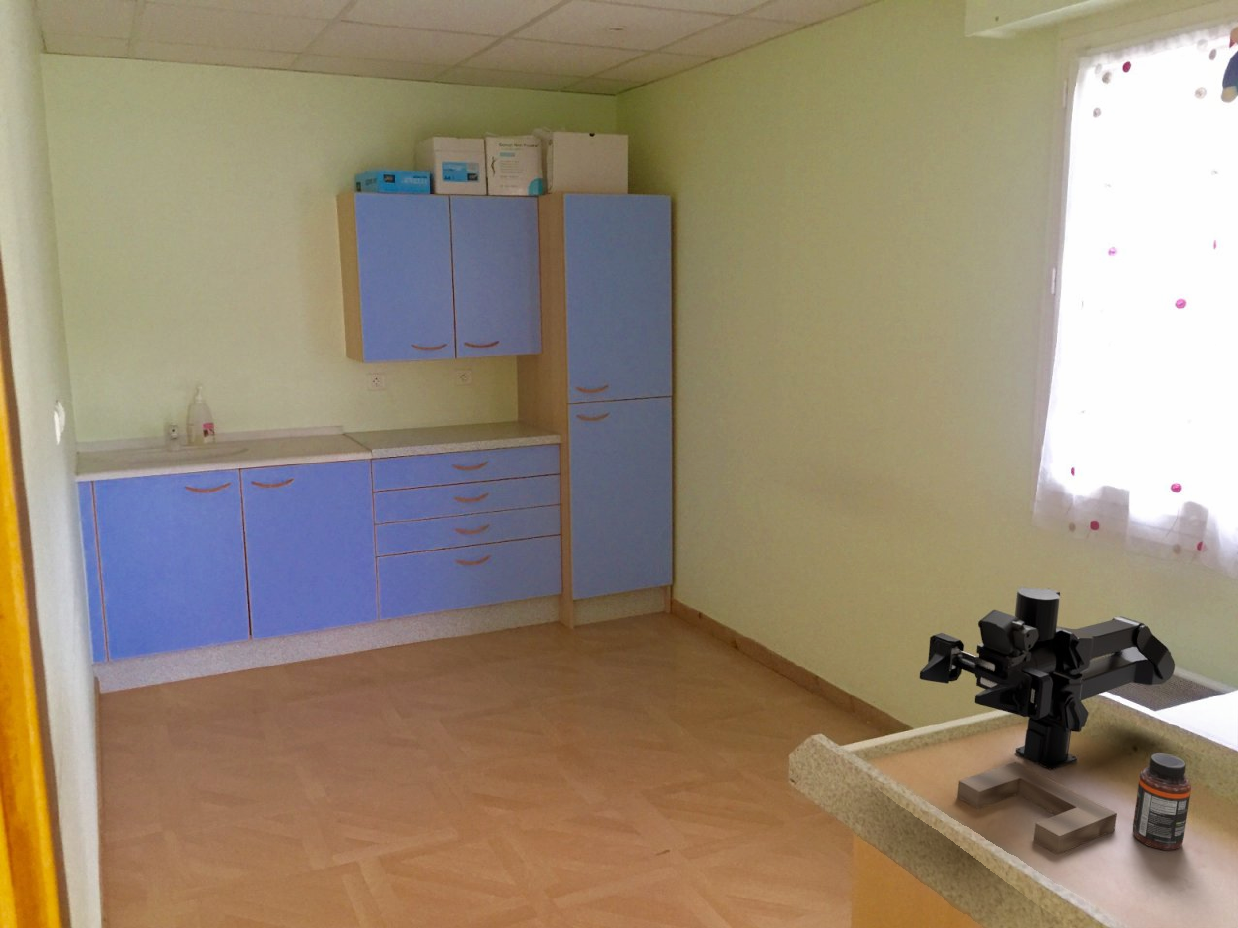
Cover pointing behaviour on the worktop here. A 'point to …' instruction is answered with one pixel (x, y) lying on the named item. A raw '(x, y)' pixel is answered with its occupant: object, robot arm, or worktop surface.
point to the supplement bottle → (1162, 803)
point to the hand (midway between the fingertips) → (947, 687)
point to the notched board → (1042, 805)
